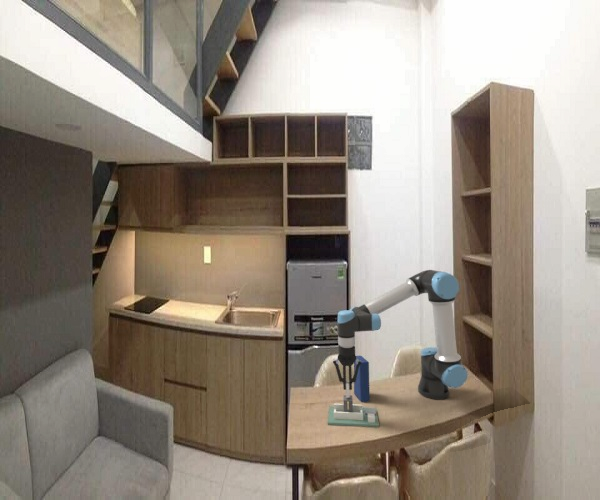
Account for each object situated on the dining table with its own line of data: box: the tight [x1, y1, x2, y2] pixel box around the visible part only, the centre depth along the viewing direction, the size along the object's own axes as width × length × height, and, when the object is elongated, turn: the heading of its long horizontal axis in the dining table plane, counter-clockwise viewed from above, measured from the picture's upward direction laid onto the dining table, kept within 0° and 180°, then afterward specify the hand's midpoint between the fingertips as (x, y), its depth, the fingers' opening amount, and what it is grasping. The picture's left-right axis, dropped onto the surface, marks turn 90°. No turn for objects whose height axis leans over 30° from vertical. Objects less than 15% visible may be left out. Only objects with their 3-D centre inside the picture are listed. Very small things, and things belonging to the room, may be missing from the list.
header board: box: [327, 403, 380, 428], centre depth 151 cm, size 22×14×4 cm, turn 82°
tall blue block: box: [353, 355, 371, 403], centre depth 169 cm, size 10×5×20 cm, turn 13°
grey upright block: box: [343, 394, 354, 412], centre depth 151 cm, size 4×6×8 cm, turn 172°
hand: (347, 396), depth 151 cm, fingers closed
